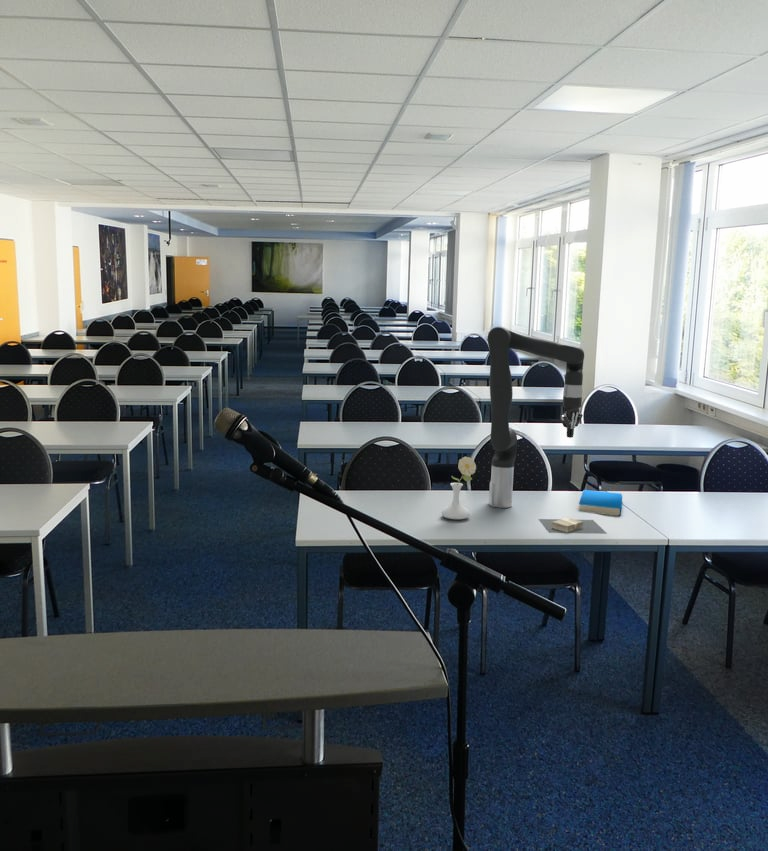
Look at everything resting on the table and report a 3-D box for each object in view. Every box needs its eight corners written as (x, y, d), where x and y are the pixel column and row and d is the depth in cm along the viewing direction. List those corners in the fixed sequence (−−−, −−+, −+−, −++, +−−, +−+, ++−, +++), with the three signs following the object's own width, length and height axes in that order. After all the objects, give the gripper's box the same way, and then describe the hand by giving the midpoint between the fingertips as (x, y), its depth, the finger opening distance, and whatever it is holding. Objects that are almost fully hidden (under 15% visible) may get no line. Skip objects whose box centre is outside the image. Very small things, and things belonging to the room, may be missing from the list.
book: (578, 503, 327) (582, 488, 350) (578, 513, 327) (582, 498, 351) (621, 507, 322) (622, 492, 345) (621, 517, 322) (622, 502, 346)
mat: (549, 534, 295) (549, 532, 294) (538, 520, 312) (538, 519, 312) (607, 535, 295) (607, 533, 295) (592, 521, 313) (593, 519, 313)
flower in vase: (443, 521, 307) (445, 459, 303) (439, 513, 318) (441, 453, 314) (476, 522, 308) (479, 459, 304) (471, 514, 319) (473, 453, 315)
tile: (582, 527, 302) (566, 532, 295) (567, 523, 307) (551, 527, 300) (583, 521, 301) (567, 526, 295) (567, 517, 307) (552, 521, 300)
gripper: (574, 393, 328) (571, 434, 331) (555, 395, 319) (552, 437, 322) (589, 395, 322) (586, 437, 325) (570, 397, 314) (567, 440, 316)
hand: (569, 437), depth 323 cm, fingers closed
